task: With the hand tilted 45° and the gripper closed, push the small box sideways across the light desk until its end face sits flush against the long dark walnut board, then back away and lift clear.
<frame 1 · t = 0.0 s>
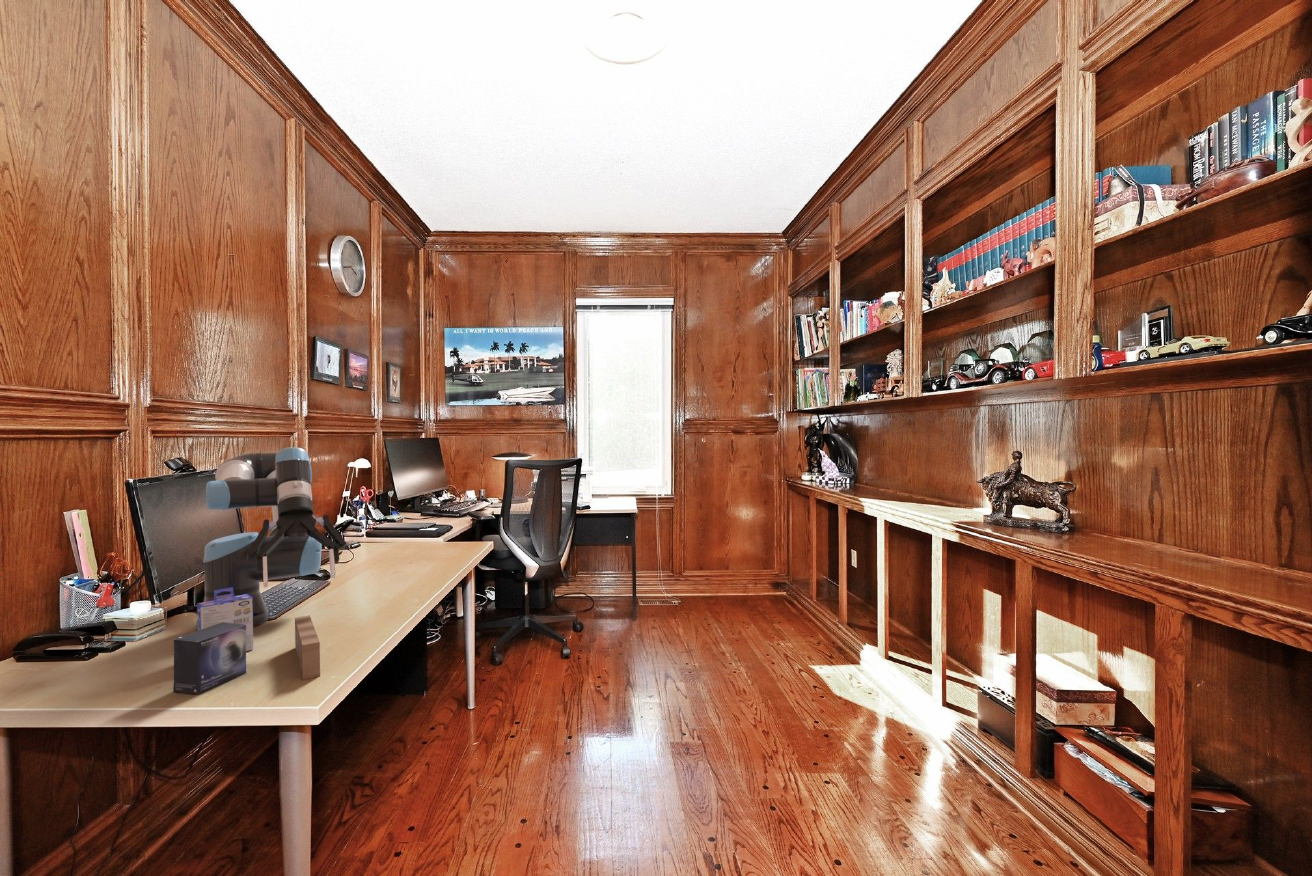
hand: (300, 580, 136), 15 cm above the table, tool tilted 35°, fingers open, 13 cm apart
small box: (211, 683, 116), on the table
ink cartridge box: (226, 653, 131), on the table
walnut board: (307, 660, 126), on the table
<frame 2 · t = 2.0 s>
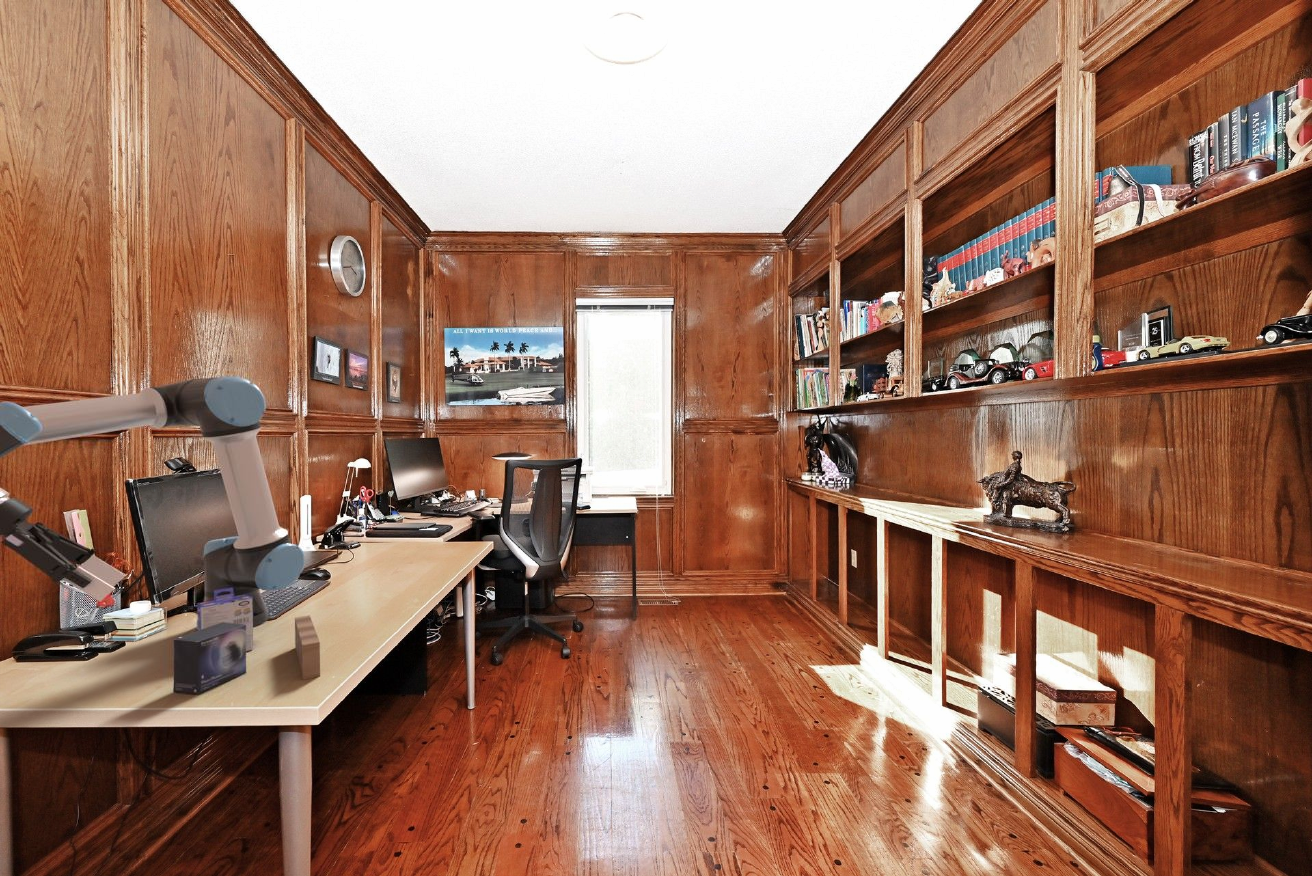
hand: (114, 587, 107), 21 cm above the table, tool tilted 45°, fingers open, 11 cm apart
nothing on the table moved.
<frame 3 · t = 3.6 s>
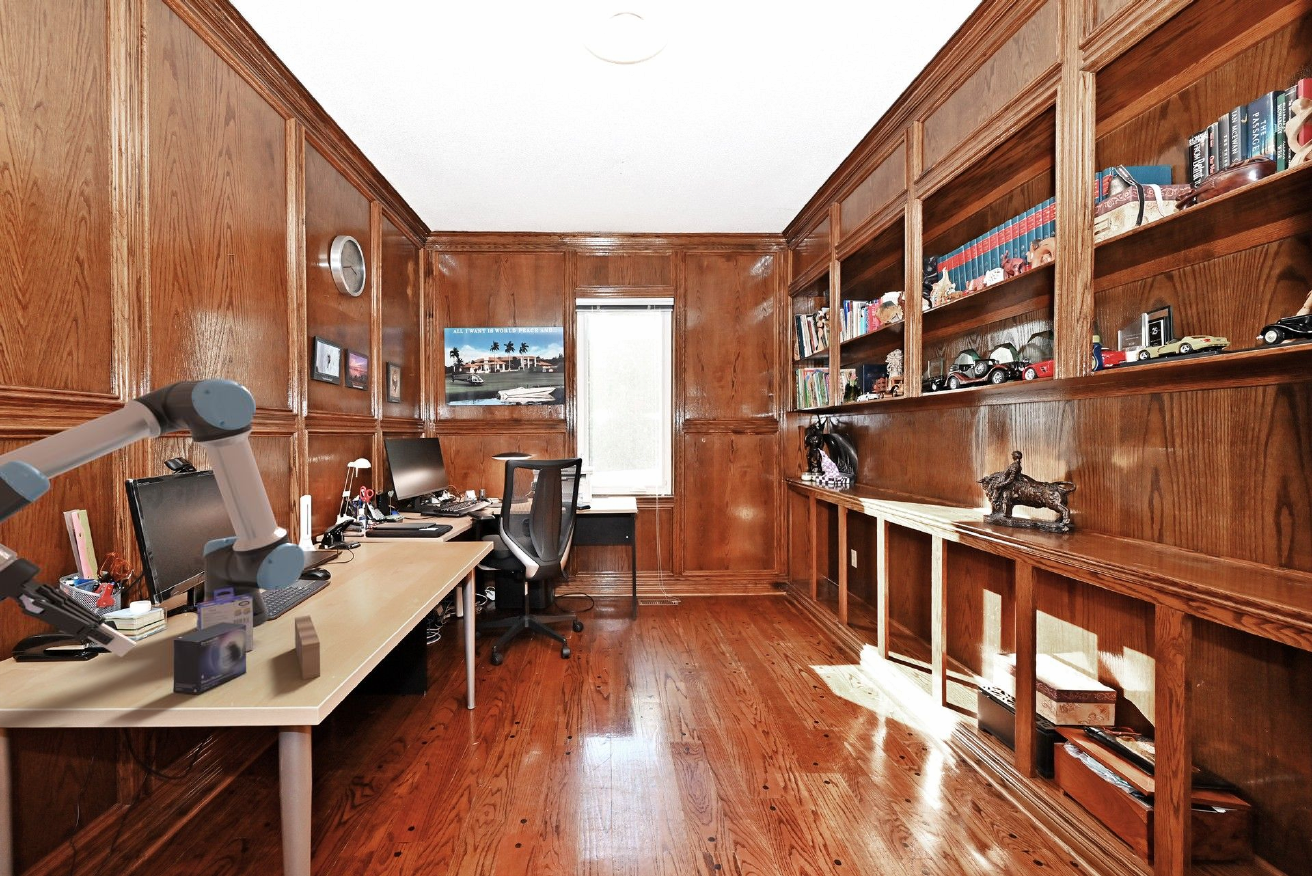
hand: (128, 649, 108), 10 cm above the table, tool tilted 45°, fingers closed
nothing on the table moved.
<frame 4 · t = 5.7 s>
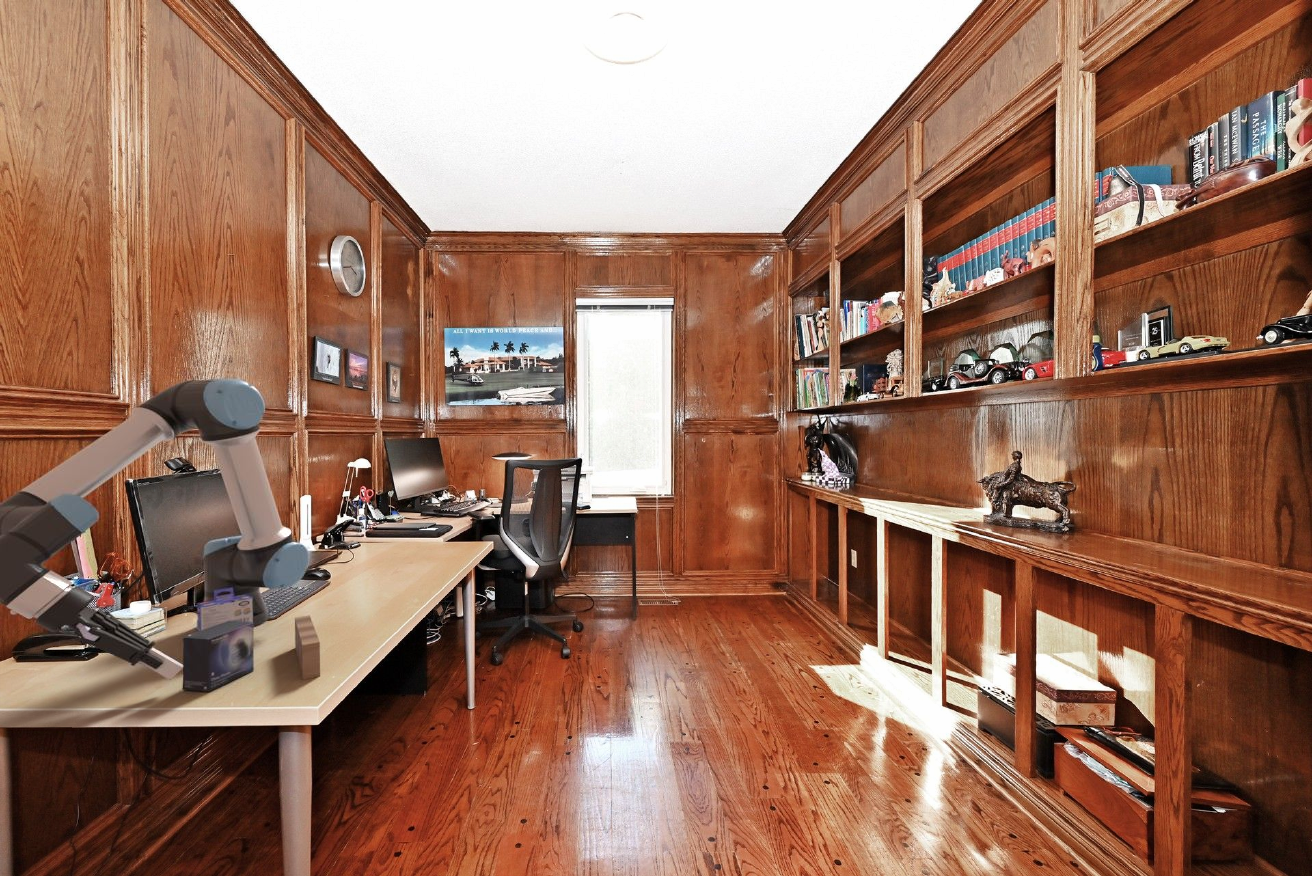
hand: (177, 672, 112), 3 cm above the table, tool tilted 45°, fingers closed
small box: (219, 681, 116), on the table, touching gripper
everything else where it was.
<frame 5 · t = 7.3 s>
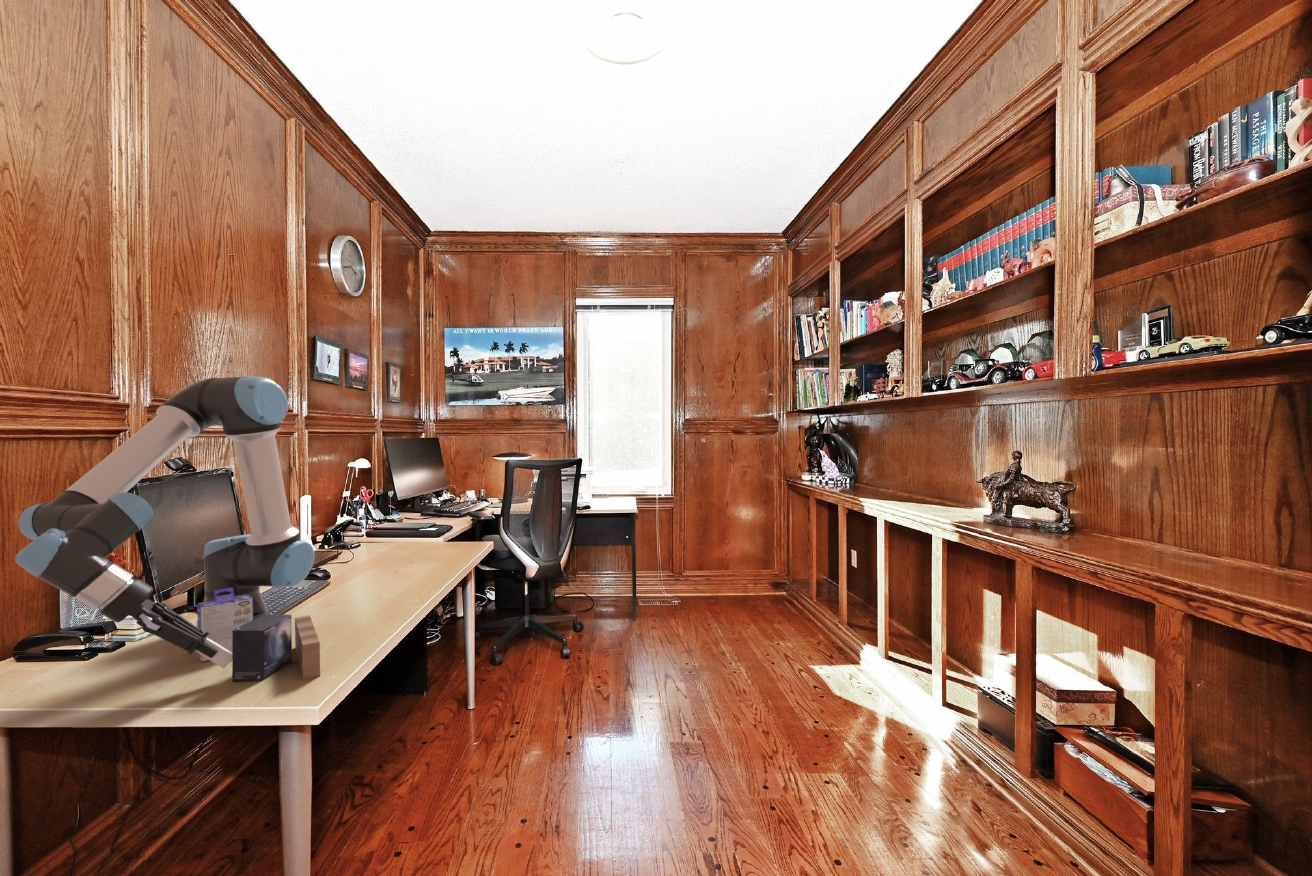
hand: (229, 661, 117), 4 cm above the table, tool tilted 45°, fingers closed
small box: (263, 672, 121), on the table
everything else where it was.
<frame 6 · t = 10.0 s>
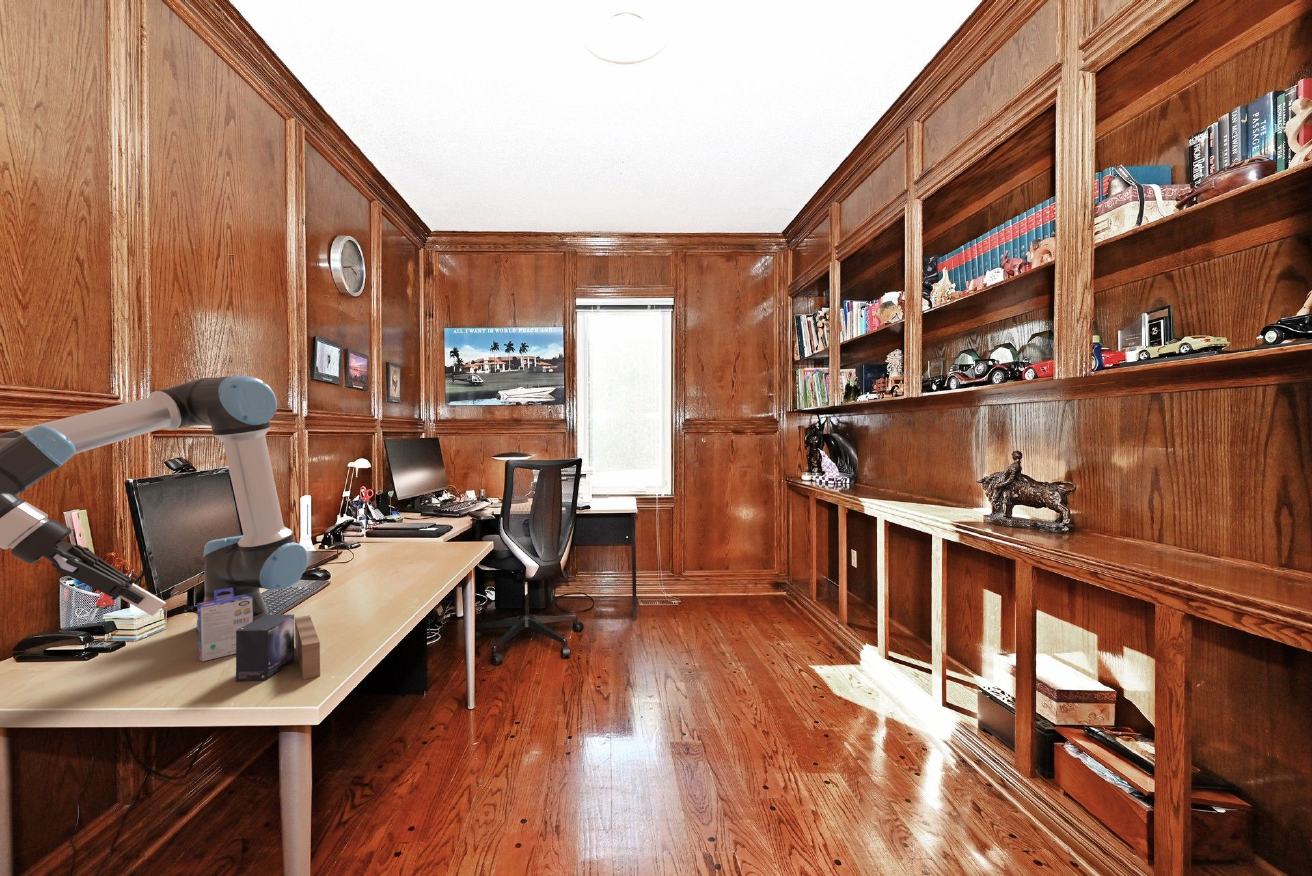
hand: (159, 609, 111), 16 cm above the table, tool tilted 45°, fingers closed
nothing on the table moved.
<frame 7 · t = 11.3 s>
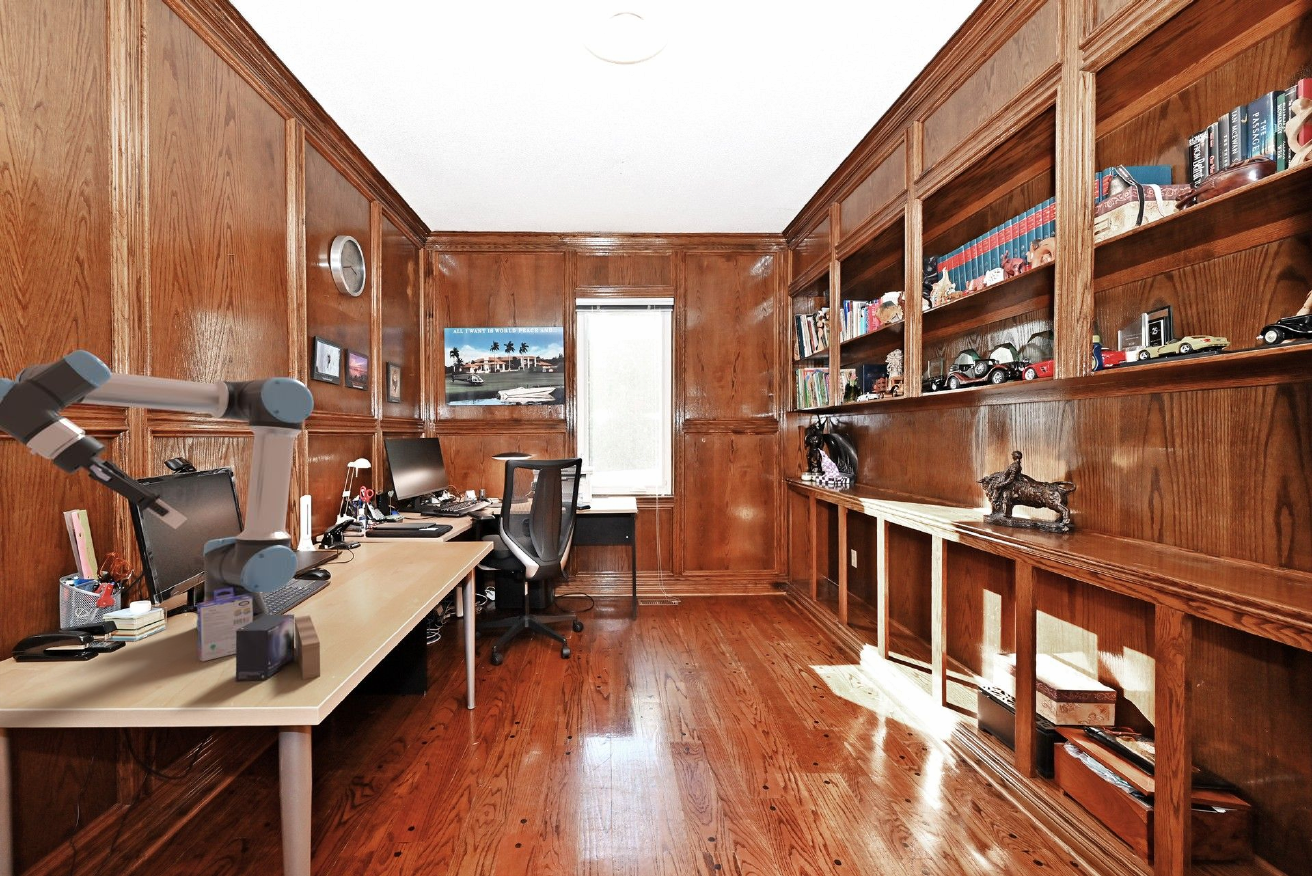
hand: (181, 523, 122), 31 cm above the table, tool tilted 45°, fingers closed
nothing on the table moved.
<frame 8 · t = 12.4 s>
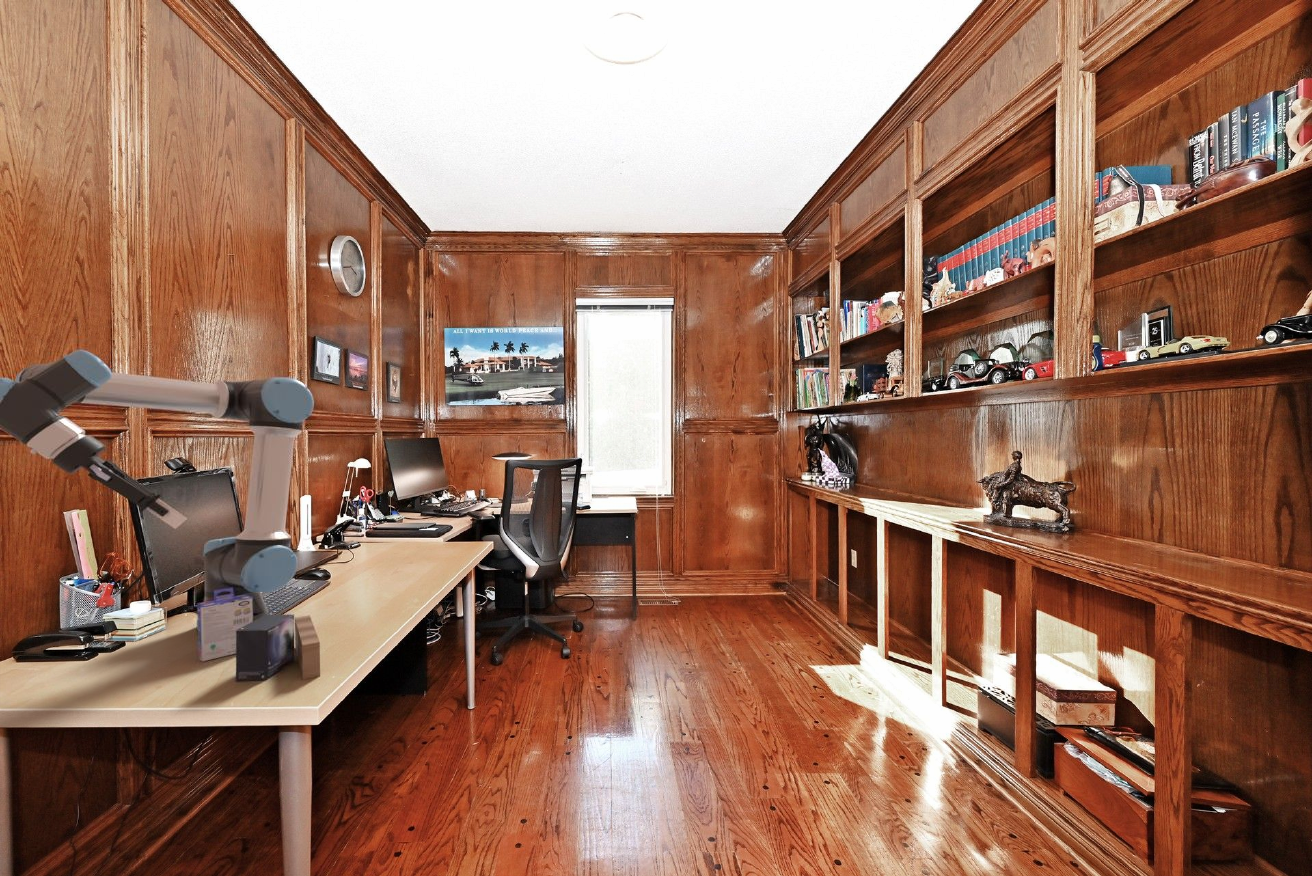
hand: (181, 523, 122), 31 cm above the table, tool tilted 45°, fingers closed
nothing on the table moved.
at the end: small box 0.2 cm from the target spot on the table beside the walnut board, on the table; small box tilted 0° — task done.
